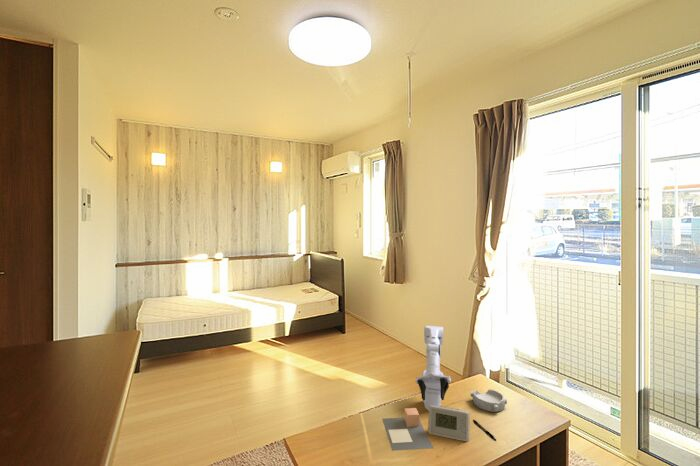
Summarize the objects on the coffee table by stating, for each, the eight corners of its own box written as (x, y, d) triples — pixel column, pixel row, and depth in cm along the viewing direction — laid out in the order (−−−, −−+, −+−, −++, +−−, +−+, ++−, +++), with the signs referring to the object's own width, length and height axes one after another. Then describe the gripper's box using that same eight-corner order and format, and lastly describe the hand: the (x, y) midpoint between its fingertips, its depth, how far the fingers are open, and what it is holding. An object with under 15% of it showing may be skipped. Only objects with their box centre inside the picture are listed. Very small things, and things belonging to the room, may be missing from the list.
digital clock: (425, 434, 135) (426, 409, 134) (432, 423, 142) (432, 399, 142) (467, 448, 126) (467, 421, 126) (471, 435, 134) (472, 410, 134)
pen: (471, 422, 144) (470, 419, 144) (474, 420, 145) (474, 418, 145) (494, 442, 131) (493, 439, 131) (497, 440, 131) (496, 438, 131)
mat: (382, 420, 144) (382, 418, 144) (418, 418, 145) (418, 416, 145) (392, 452, 124) (392, 450, 124) (433, 450, 125) (433, 447, 125)
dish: (466, 401, 160) (466, 391, 160) (487, 394, 166) (487, 385, 166) (490, 417, 147) (491, 406, 147) (512, 409, 153) (512, 399, 153)
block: (404, 419, 143) (404, 408, 143) (415, 419, 144) (415, 407, 144) (407, 426, 138) (407, 415, 138) (419, 426, 139) (419, 414, 139)
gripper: (414, 364, 145) (412, 393, 134) (447, 362, 139) (448, 392, 128) (419, 373, 148) (417, 403, 137) (451, 372, 142) (452, 402, 131)
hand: (432, 399), depth 133 cm, fingers open, 7 cm apart
